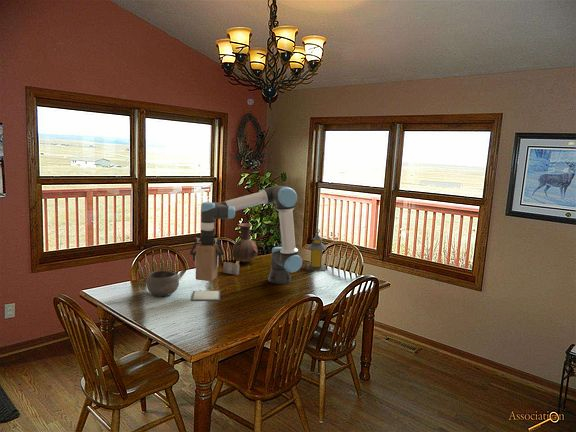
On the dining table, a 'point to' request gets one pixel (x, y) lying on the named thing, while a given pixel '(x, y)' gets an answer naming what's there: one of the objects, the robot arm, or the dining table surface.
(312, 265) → the lantern
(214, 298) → the mat
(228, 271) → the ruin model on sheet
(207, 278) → the wooden block
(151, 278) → the bowl
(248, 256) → the vase
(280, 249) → the robot arm
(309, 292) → the dining table surface
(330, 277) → the dining table surface
